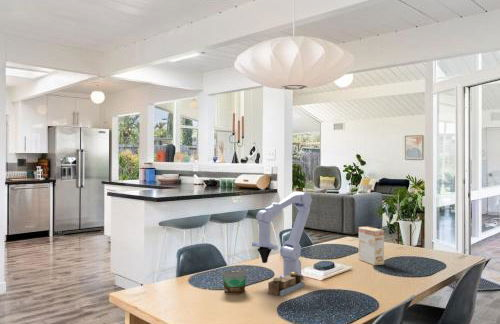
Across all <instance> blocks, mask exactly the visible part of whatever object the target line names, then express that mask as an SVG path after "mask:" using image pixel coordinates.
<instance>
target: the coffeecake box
mask: <svg viewBox="0 0 500 324" xmlns="http://www.w3.org/2000/svg"><path fill="white" fill-rule="evenodd" d="M358 260H359V261H361V262H364V263H367V264H370V265H373V266H380V265H381V266H382V265H385V230H384V229H380V228H376V227H372V226H367V225H366V226H358Z"/></svg>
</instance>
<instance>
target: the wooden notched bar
mask: <svg viewBox="0 0 500 324" xmlns="http://www.w3.org/2000/svg"><path fill="white" fill-rule="evenodd" d="M302 275H303V274H302ZM302 275H295V277H293V275H287V276H285V277H281V278H282V281H280V282H279V284H277V283H276V282H275V281H273V280H272V281H268V283H267V284H268V288H267V289H268V291H267V293H268V294H269V295H274V296H276V297H277V296H280V291H282V290H284V289H286V288H289V287H291V286H294V285H296V284H298V283H301V282H303V281H302V280H303V279H302V278H303V276H302Z"/></svg>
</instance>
